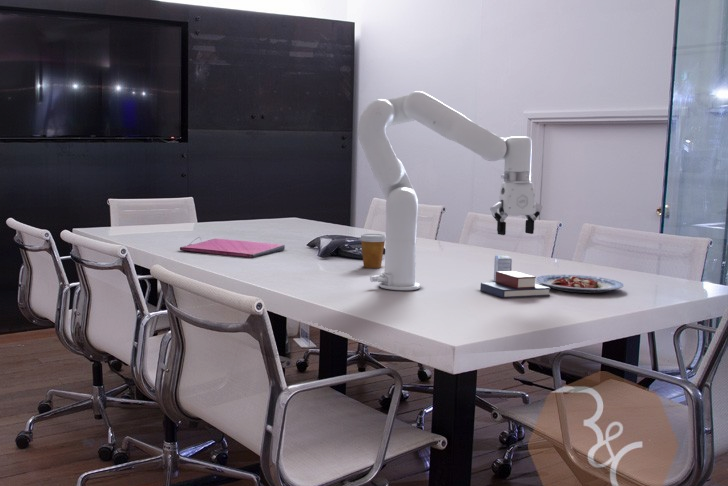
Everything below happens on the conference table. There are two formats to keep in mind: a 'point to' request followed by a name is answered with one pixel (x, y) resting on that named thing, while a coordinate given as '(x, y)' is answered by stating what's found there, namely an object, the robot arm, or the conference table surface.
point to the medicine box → (502, 264)
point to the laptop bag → (233, 248)
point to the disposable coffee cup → (372, 249)
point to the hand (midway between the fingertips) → (515, 234)
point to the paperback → (515, 279)
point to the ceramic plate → (579, 283)
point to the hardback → (514, 290)
